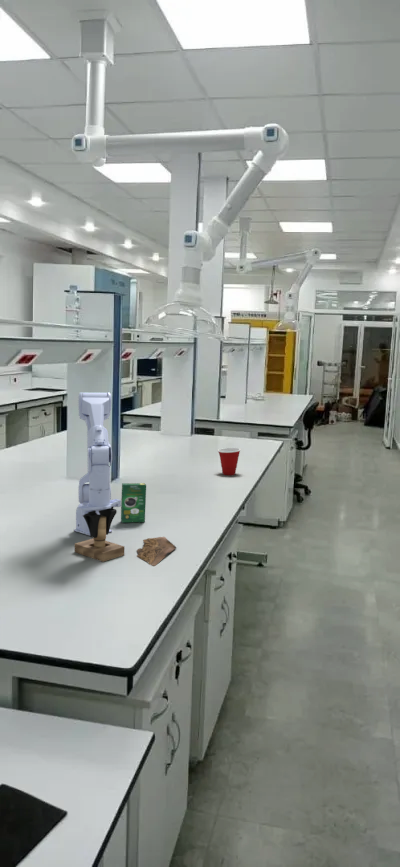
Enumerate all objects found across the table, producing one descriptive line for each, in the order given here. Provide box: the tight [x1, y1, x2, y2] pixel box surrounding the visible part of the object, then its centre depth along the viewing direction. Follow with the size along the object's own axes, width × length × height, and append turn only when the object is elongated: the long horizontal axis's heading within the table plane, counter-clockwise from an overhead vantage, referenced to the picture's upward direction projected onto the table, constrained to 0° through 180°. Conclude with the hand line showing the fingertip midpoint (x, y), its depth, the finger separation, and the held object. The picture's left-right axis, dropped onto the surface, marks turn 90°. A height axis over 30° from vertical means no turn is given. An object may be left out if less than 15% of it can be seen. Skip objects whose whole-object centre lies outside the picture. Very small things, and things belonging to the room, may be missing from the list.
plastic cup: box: [217, 447, 242, 476], centre depth 301 cm, size 11×11×12 cm
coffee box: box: [120, 482, 147, 524], centre depth 217 cm, size 8×3×13 cm, turn 104°
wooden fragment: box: [136, 536, 177, 567], centre depth 188 cm, size 26×11×1 cm, turn 175°
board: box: [74, 538, 125, 563], centre depth 184 cm, size 12×8×2 cm, turn 50°
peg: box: [92, 516, 107, 549], centre depth 183 cm, size 4×4×9 cm
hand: (99, 535), depth 183 cm, fingers closed on peg, 4 cm apart
